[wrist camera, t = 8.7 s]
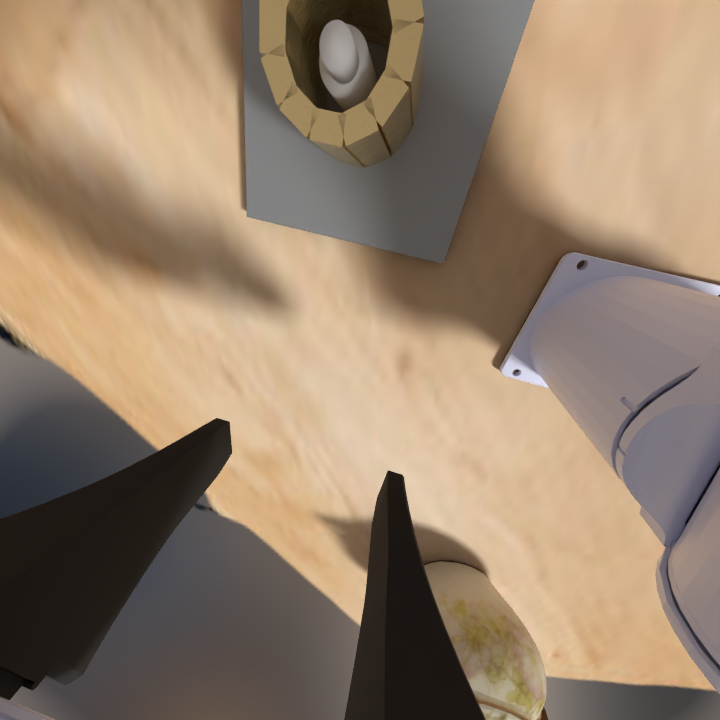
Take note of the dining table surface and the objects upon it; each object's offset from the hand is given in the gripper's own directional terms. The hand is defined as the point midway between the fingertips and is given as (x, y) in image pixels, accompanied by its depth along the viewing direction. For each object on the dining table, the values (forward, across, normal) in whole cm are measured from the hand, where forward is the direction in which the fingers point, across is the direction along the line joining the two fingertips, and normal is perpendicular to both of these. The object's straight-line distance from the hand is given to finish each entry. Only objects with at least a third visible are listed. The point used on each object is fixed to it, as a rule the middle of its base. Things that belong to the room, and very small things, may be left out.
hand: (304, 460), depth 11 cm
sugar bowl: (+10, -18, +27) cm, 34 cm away
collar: (+9, +2, -14) cm, 17 cm away
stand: (+10, +2, -14) cm, 17 cm away
